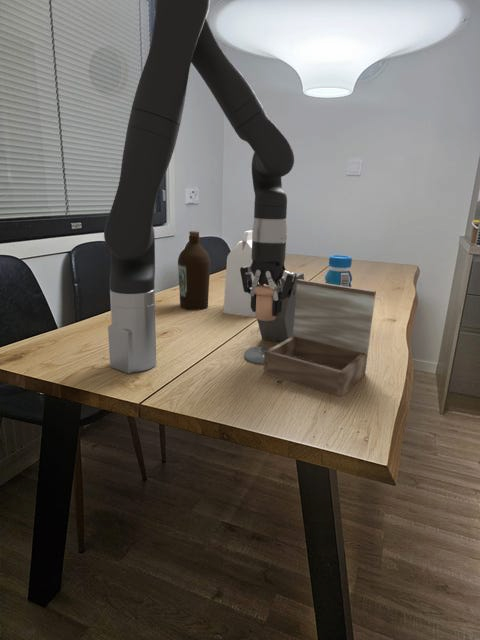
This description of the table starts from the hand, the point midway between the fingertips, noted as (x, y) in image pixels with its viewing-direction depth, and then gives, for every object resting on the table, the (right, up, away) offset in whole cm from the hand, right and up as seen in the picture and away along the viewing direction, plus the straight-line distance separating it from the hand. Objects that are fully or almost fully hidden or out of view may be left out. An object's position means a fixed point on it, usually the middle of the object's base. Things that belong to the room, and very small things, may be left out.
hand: (265, 313), depth 98 cm
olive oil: (-22, +3, +45) cm, 50 cm away
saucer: (-1, -10, +3) cm, 11 cm away
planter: (+5, -6, +18) cm, 20 cm away
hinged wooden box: (+10, -13, -5) cm, 18 cm away
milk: (-4, +1, +43) cm, 43 cm away
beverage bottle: (+24, -2, +36) cm, 43 cm away
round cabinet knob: (0, -1, 0) cm, 1 cm away
